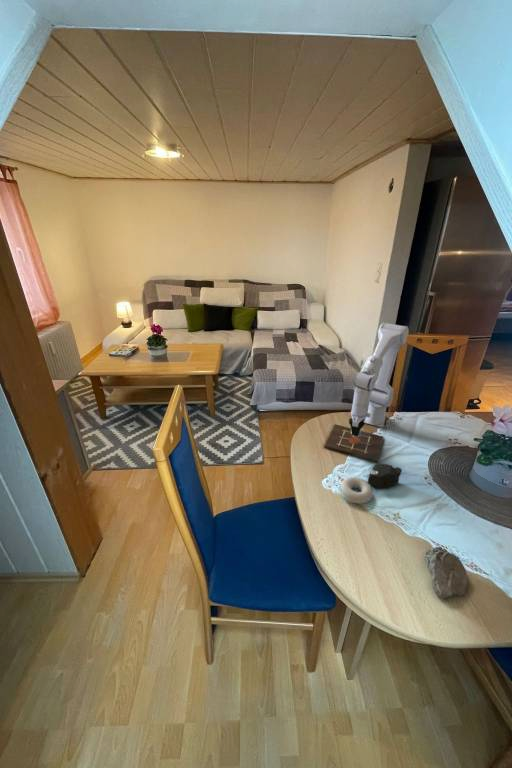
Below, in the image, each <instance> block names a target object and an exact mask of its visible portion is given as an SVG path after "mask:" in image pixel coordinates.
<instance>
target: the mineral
mask: <svg viewBox="0 0 512 768" xmlns="http://www.w3.org/2000/svg"><path fill="white" fill-rule="evenodd" d="M402 473H403V469H402V468H400V467H398V466H397V467H395V466H393V465H392V464H389V463H388V464H387V463H376V464H374V466H373V467H372V469H371V471H370V473H369V475H368V478H367V483H368V484H369V485H370V486H371V488H373V489H375V490H381V489H382V490H383V489H390V488H392V487H395V486H396V485H398V484H399V482H400V477H401V474H402Z"/></svg>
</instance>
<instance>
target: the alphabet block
mask: <svg viewBox="0 0 512 768" xmlns="http://www.w3.org/2000/svg"><path fill="white" fill-rule="evenodd" d="M362 431H363V430H362V428H361V429H360V432H359V434H358V436H354V435H353V437H361V432H362ZM351 434H352V431H351Z"/></svg>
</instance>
